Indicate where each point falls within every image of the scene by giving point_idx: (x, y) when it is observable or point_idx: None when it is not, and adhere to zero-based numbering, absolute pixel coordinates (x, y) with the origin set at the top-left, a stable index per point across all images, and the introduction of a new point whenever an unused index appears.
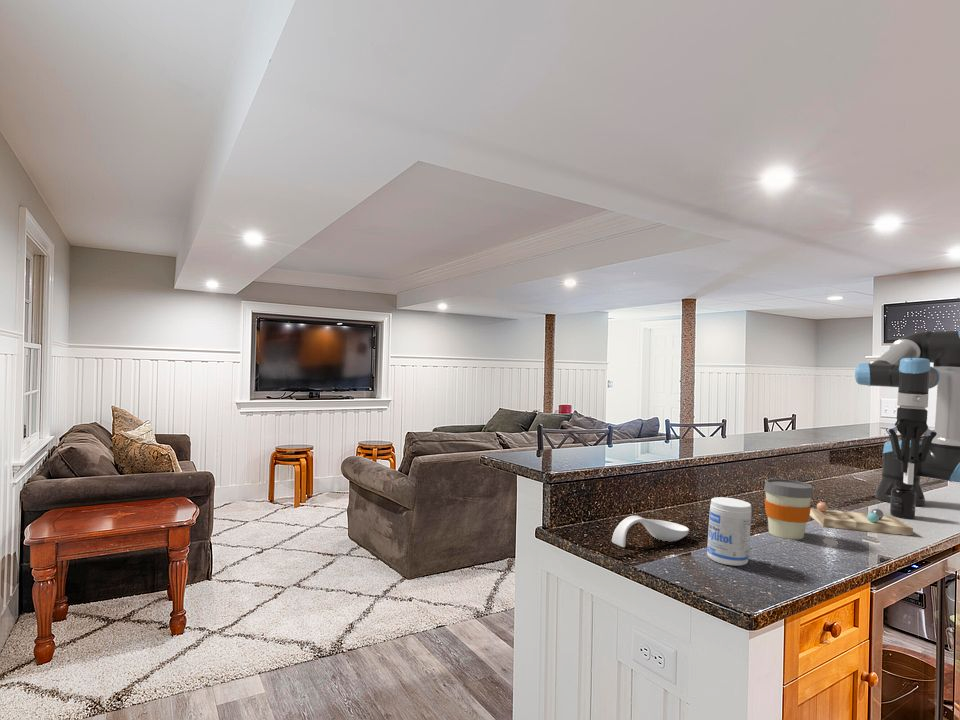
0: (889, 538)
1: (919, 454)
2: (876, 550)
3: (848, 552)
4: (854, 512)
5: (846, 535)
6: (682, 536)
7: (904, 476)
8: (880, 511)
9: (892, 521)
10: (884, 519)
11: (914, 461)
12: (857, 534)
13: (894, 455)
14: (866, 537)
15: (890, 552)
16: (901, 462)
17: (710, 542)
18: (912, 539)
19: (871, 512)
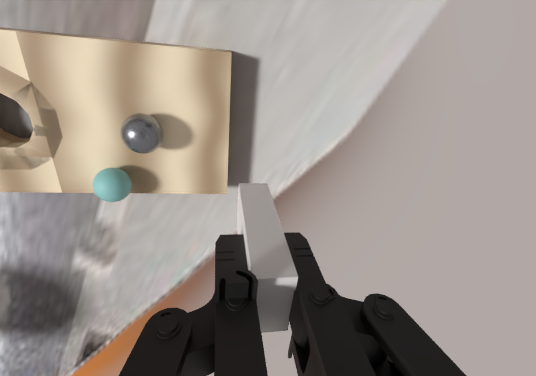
0: (151, 223)
1: (402, 365)
2: (91, 312)
3: (29, 341)
4: (79, 38)
5: (37, 238)
6: None
7: (241, 214)
8: (146, 150)
9: (193, 140)
10: (174, 121)
11: (295, 344)
12: (70, 219)
13: (136, 360)
14: (90, 236)
15: (117, 312)
16: (214, 298)
17: None
18: (210, 211)
19: (102, 188)
